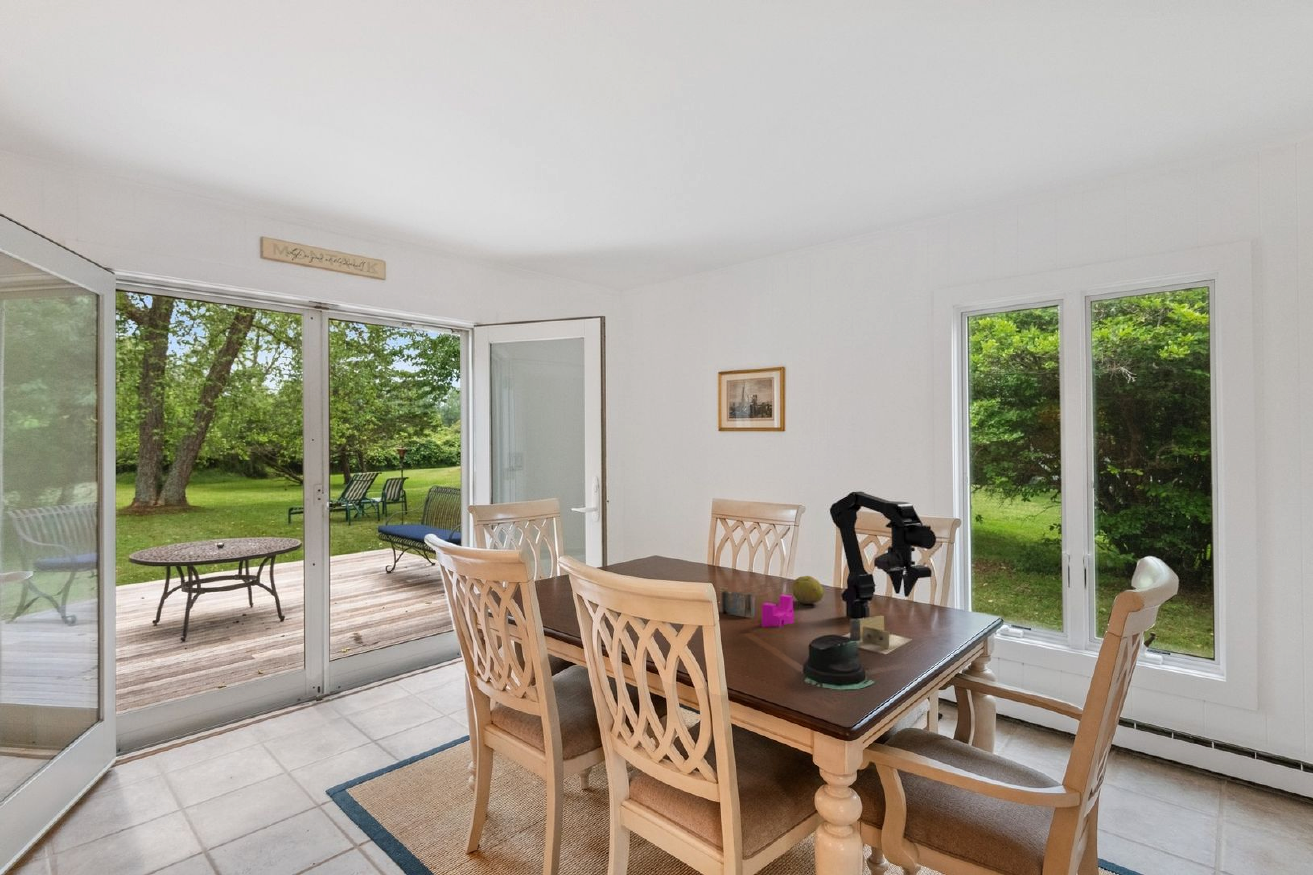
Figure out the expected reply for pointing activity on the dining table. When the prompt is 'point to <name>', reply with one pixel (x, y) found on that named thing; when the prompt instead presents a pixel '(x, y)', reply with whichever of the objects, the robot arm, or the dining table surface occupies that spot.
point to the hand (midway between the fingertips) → (901, 595)
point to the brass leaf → (871, 623)
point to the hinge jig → (875, 638)
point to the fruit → (807, 590)
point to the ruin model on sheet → (738, 603)
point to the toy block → (778, 612)
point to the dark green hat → (835, 663)
